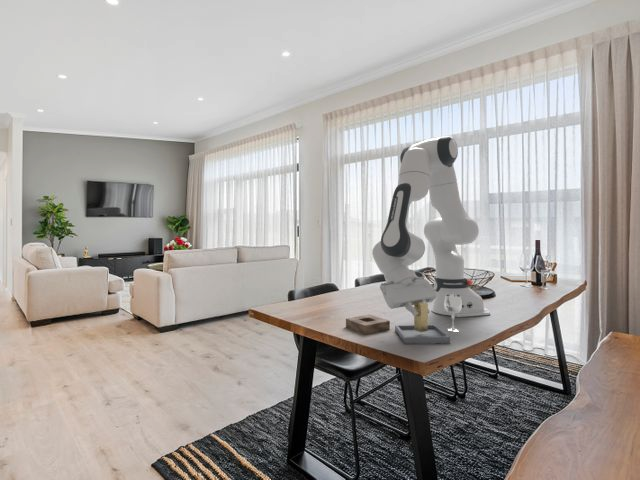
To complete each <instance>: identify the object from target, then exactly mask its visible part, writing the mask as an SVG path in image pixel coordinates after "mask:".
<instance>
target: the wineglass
mask: <svg viewBox="0 0 640 480" xmlns="http://www.w3.org/2000/svg"><path fill="white" fill-rule="evenodd" d="M444 307H445V310H446V311H447V312H448V313H450V314H452V316H451V321H452V322H451V327H447V328H445V330H446V331H447V332H451V333H457V332H458V333H459V332H460V331H461V330H460V328H455V325H454V321H455V317H454V314H457V313H459V312H460V311H461V309H462V301H461V297H460V295H455V294H448V295H446V297H445V302H444Z"/></svg>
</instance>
